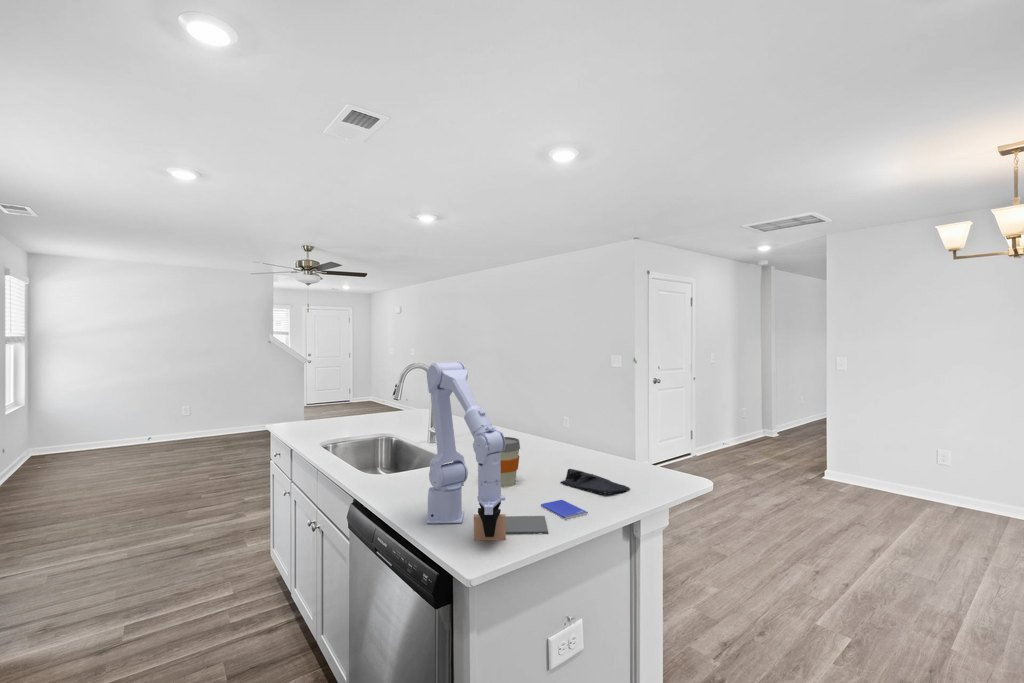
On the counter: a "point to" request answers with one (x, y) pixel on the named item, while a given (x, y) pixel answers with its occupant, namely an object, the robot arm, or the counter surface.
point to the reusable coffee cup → (509, 461)
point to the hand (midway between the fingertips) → (489, 533)
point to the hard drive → (564, 509)
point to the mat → (526, 525)
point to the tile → (499, 530)
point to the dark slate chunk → (592, 482)
